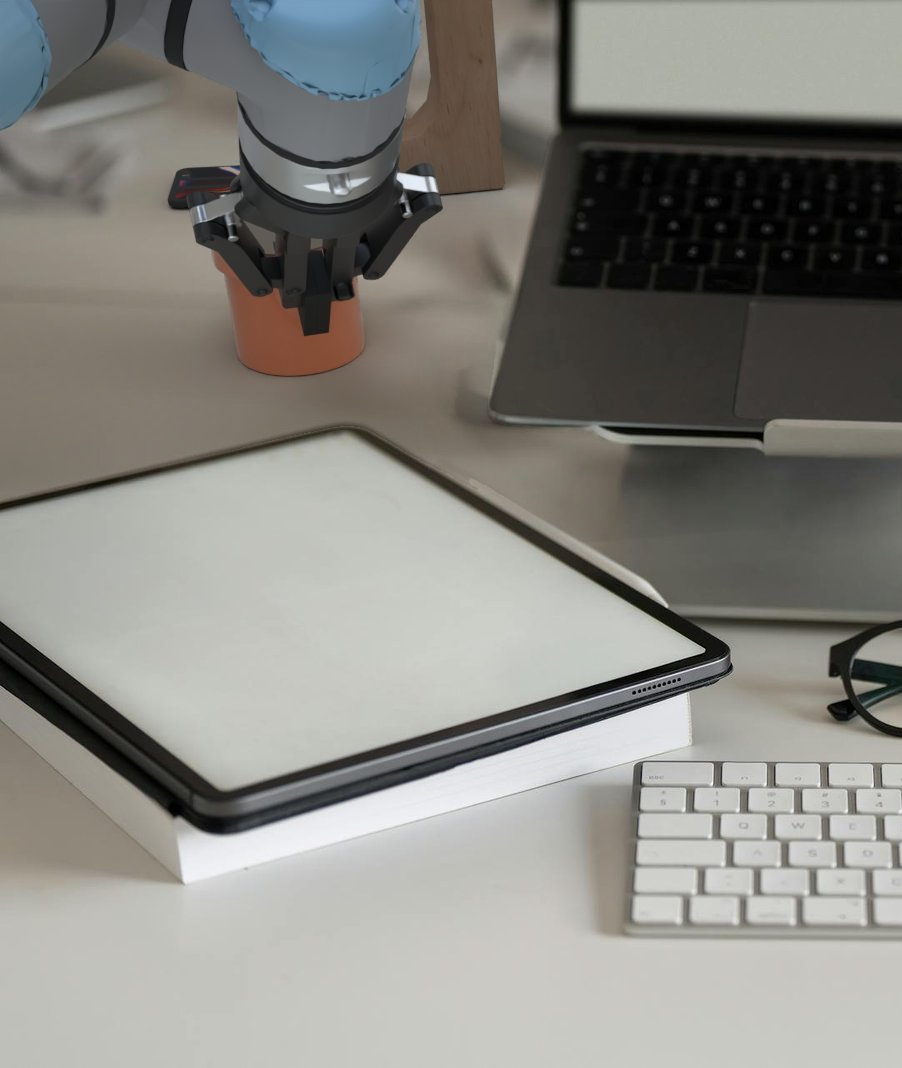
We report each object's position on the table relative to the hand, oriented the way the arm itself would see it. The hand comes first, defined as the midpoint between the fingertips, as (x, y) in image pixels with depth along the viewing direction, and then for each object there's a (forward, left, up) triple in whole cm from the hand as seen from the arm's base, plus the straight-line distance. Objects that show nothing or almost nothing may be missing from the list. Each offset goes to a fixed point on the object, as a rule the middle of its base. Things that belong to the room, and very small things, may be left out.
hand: (311, 313), depth 103 cm
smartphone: (-19, +28, -5) cm, 34 cm away
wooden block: (-7, +33, -5) cm, 34 cm away
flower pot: (-3, +4, -5) cm, 7 cm away
